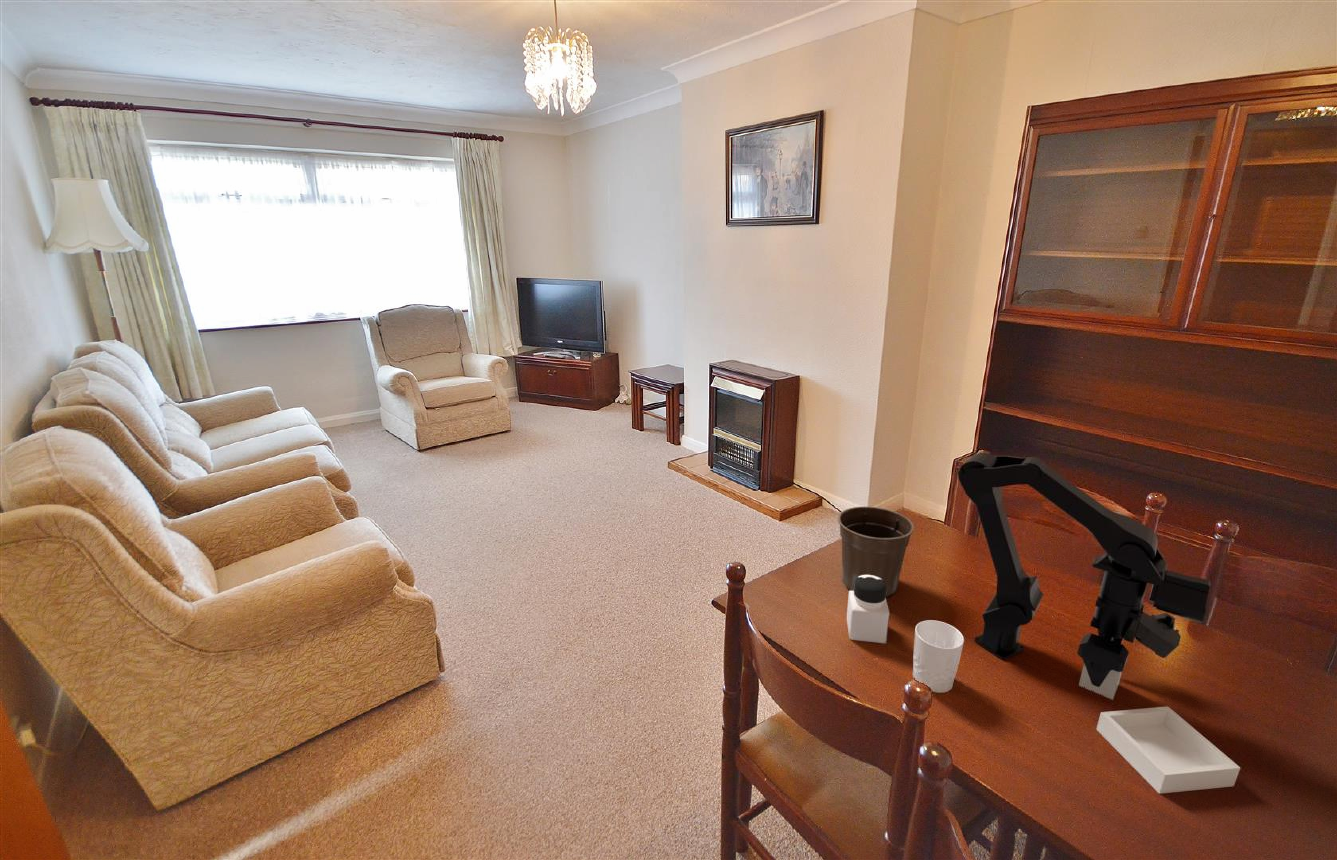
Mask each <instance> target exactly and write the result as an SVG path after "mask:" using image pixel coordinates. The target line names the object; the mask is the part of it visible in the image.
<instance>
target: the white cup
mask: <svg viewBox="0 0 1337 860" xmlns="http://www.w3.org/2000/svg"><path fill="white" fill-rule="evenodd" d="M964 643H965V637H964V636H963V634H962V632H961V631H960V630H959V629H957V628H956V627H955V626H953V625H951V624H948V623H947V622H944V621H940V620H933V619H932V620H931V619H927V620H924V621H923V620H922V621H919V622H918V623H917V624H916V625H915V629H914V641H913V656H912V658H913V659H912V660H913V662H912V663H913V665H912V666H913V669H912V677H913V679H914V678H915V680H917V681H919V682H921V683H924V684H925V685H927V686H928V687H930V688H931V689H932V691H933V692H932V691H931V692H932V693H938V694H941V693H947V692H949V691H950V690H951V689H953V685H954V680H955V677H956V676H957V672H958V668H959V663H960V660H961V656H962V651H963V647H964ZM915 680H914V681H915Z"/></svg>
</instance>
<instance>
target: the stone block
mask: <svg viewBox="0 0 1337 860" xmlns="http://www.w3.org/2000/svg"><path fill="white" fill-rule="evenodd" d="M1082 666H1083V667H1082V671H1081V675H1080V678H1079V683H1078V686H1079V687H1081V688H1084V687H1085V688H1084V689H1086V690H1088V691H1091V690H1092V691H1091V692H1093V691H1094V692H1093V693H1096V694H1098V695H1100V694H1101V695H1100V696H1102V695H1103V696H1102V697H1105V698H1107V699H1109V700H1112V701H1113V700H1114V698H1115V695H1116V693H1117V689H1118V687H1119V684H1120V680H1121V676H1122V673H1123V672H1117V671H1114V670H1111V671H1110V672H1109V674H1108V675H1107V677H1106V678H1105V680H1104V681H1103V683H1102V684H1101V686H1100V687H1097V686H1094V685H1092V683H1091V680H1090V678H1089V675H1088V672H1087V669H1086V666H1085V664H1084V663H1083V665H1082Z"/></svg>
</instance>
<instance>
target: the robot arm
mask: <svg viewBox="0 0 1337 860" xmlns="http://www.w3.org/2000/svg"><path fill="white" fill-rule="evenodd" d="M957 478H958V481H959V483H960V485H961V486H962V488H963V491H964V493H965V495H966V496H967V497H968V498H969V500H970V502H972V503H973V504H974V506H975V507H976V510H977V513H978V516H979V519H980V523H981V527H982V530H983V534H984V537H985V540H986V542H987V543H986V544H987V546H988V547H987V548H988V549H989V553H990V556H991V559H992V562H993V567H994V570H995V574H996V580H997V581H996V592H995V593H996V594H994V596H993V597H992V599H991V601H990V602H989V604H987V607H986V609H985V610H984V612H983V614H982V619H983V622H984V625H983V629H982V630H983V631H982V634H980V635H977V636H975V637H974V638H973V641H974V642H975V643H977V644H978V645H980V646H981V647H983V648H984V649H986V650H987V651H989V652H990V653H992V654H993V655H995V656H996V657H998V659H1001V660H1007V659H1008V658H1010V657H1011V658H1012V657H1013V656H1015V655H1017V654H1020V653H1022V652H1024V651H1025V647H1024V645H1021V644H1020V643H1018V642H1019V638H1020V633H1021V628H1022V626H1025V625H1028V624H1029V623H1031V621H1032V620H1033V618H1034V616H1035V614H1036V612H1037V610H1038V608H1039V606H1040V603H1041V600H1042V598H1043V596H1044V593H1043V591H1042V590H1041V588H1040V586H1039V578H1038V576H1036V575H1033V576H1029V574H1027V573H1026V571H1025V570H1024V569H1023V566H1022V563H1021V559H1020V555H1019V552H1018V550H1017V545H1016V543H1015V540H1014V539H1015V538H1014V536H1013V533H1012V529H1011V526H1010V521H1009V519H1008V516H1007V512H1006V509H1005V505H1004V502H1003V487H1009V486H1015V485H1016V486H1017V485H1028V487H1030V488H1031V489H1033V490H1034V491H1036V492H1037V493H1038V494H1040V495H1041V496H1042V497H1044V498H1045V499H1046V500H1048V501H1049V502H1051V503H1052V504H1053V505H1054V506H1055V507H1056V508H1059V509H1060V510H1061V511H1062V512H1064V513H1065V514H1067V515H1068V516H1069V517H1071V518H1072V519H1073V520H1074V521H1076V522H1077V523H1079V524H1080V525H1081V526H1083V527H1084V528H1086V529H1087V531H1089V533H1090V534H1091V535H1092V536H1093V537H1094V539H1095V540H1096V541H1097V543H1098V544H1099V546H1100V547H1101V548H1102V550H1104V551H1105V553H1104V554H1100V555H1097V556H1095V557H1094V559H1093V562H1092V564H1091V565H1092V567H1093V568H1095V569H1097V570H1101V571H1104V575H1103V578H1102V581H1101V587H1100V590H1099V594H1098V597H1097V599H1096V600H1095V605H1094V606H1095V611H1094V613H1093V617H1092V620H1091V621H1090V625H1089V627H1092V628H1094V629H1097V634H1098V635H1097V634H1095V633H1092V632H1091V633H1087V634H1084V635H1083V637H1082V639H1081V641H1080V643H1079V645H1078V650H1077V655H1078V656H1079V658H1081V659H1082V661H1083V665H1084V664H1085V666H1086V669H1087V672H1088V675H1089V678H1090V680H1091V683H1092V685H1094V686H1097V687H1100V686H1101V684H1102V683H1103V681H1104V680H1105V678H1106V677H1107V675H1108V674H1109V672H1110V671H1111V670H1114V671H1117V672H1122V673H1123V672H1124V669H1125V667H1126V663H1127V661H1128V657H1129V654H1130V651H1129V650H1128V649H1127V648H1126V647H1125V645H1124V644H1122V643H1123V641H1126V642H1129V643H1130V644H1131V643H1132V644H1134V641H1135V640H1136V641H1137V642H1138V643H1140V644H1141V645H1143V646H1144V647H1146V648H1148V649H1149V650H1150V651H1152V652H1154V654H1155V655H1156V656H1158V657H1159V658H1163V659H1166V658H1167V657H1168V656H1169V655H1170V654H1171V653H1173V652H1174V651H1175V650H1176V649H1177V648H1178V647H1179V645H1180V642H1181V638H1182V636H1181V634H1180V630H1179V629H1177V628H1176V629H1175V623H1176V618H1175V617H1174V616H1172V615H1175V616H1177V617H1181V618H1184V619H1188V620H1190V621H1194V622H1197V623H1201V624H1202V623H1203V620H1204V618H1205V616H1206V615H1205V614H1206V612H1207V606H1208V605H1207V601H1208V597H1209V592H1210V588H1211V581H1210V579H1206V578H1202V577H1198V576H1197V577H1195V576H1191V575H1186V574H1182V573H1178V572H1176V571H1173V570H1172V571H1171V570H1169V569H1168V568H1167V567H1168V563H1167V561H1166V559H1165V557H1164V556H1163V555H1162V553H1161V552H1160V550H1159V548H1158V544H1159V543H1158V541H1159V540H1158V535H1157V534H1156V533H1155V531H1154V530H1153V529H1152V528H1150V527H1148V526H1147V525H1145V524H1143V523H1141V522H1139V521H1137V520H1135V519H1133V518H1132V517H1129V516H1127V515H1124V514H1121V513H1119V512H1115V511H1113V510H1112V509H1109V508H1107V507H1106V506H1104V505H1103V504H1101V503H1100V502H1099V501H1097V500H1096V499H1094V497H1092V496H1090V495H1089V494H1088V493H1086V492H1085V491H1083V490H1082V489H1081V488H1079V487H1078V486H1076V485H1075V484H1074V483H1072V482H1071V481H1070V480H1068V479H1067V478H1065V477H1064V476H1062V475H1061V474H1060V473H1058V472H1057V471H1055V470H1054V469H1053V468H1051V466H1049V465H1047V463H1046V462H1045V461H1044V460H1043V459H1041V458H1039V457H1036V456H1031V457H1021V456H1012V455H993V454H991V453H988V452H977V453H975V454H973V455H971V457H970V458H968V459H967V460H966V461H965V462H964V463H963V464H962V465H961V466H960V467H959V469H958V471H957ZM1148 584H1150V585H1152V586H1151V590H1150V593H1149V594H1150V595H1149V598H1148V601H1150V602H1153V603H1152V607H1153V608H1155V609H1156V610H1158V611H1160V612H1161V611H1162V613H1160V614H1156V615H1155V614H1152V613H1151V615H1150V614H1147V612H1144V609H1145V604H1144V602H1143V601H1144V598H1145V595H1146V591H1147V587H1148ZM1170 614H1171V615H1170Z"/></svg>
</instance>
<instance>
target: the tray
mask: <svg viewBox="0 0 1337 860" xmlns="http://www.w3.org/2000/svg"><path fill="white" fill-rule="evenodd" d="M1099 714H1100V715H1099V718H1098V721H1097V726H1096V731H1097V732H1098V733H1099V734H1100V735H1101V736H1102V737H1103V738H1104V739H1105V740H1106V741H1107V742H1108V743H1109V744H1110V745H1111V746H1112V747H1113V749H1115V750H1116V751H1117V752H1118V753H1119V754H1120V755H1121V756H1122V757H1123V758H1124V759H1125V761H1127V762H1128V764H1130V766H1132V768H1133V769H1135V771H1136V772H1137V773H1138V774H1140V776H1141V777H1142V778H1143V779H1144V780H1146V782H1147V783H1148V784H1149V785H1150V786H1151V787H1152V788H1153V789H1154V790H1155V791H1156V792H1157V793H1158V794H1170V793H1180V792H1188V791H1199V790H1209V789H1220V788H1229V787H1230V788H1231V787H1234V786H1235V784H1236V781H1237V779H1238V776H1239V774H1240V773H1239V772H1240V770H1241V767H1240V766H1239V765H1238V764H1237V763H1235V761H1234V760H1232V759H1231V758H1230V757H1228V756H1227V755H1226V754H1225V753H1224V752H1223V751H1221V750H1220V749H1219V748H1218V747H1216V745H1214V744H1213V743H1212V742H1211V741H1210V740H1208V738H1206V737H1204V736H1203V735H1202V734H1201V733H1200V732H1199V731H1198V730H1197V729H1195V728H1194V727H1193V726H1192V725H1191V724H1189V722H1187V721H1186V720H1185V719H1183V717H1181V716H1180V715H1179V714H1178V713H1177V712H1175V711H1174V710H1173V709H1172V708H1171V707H1169V706H1158V707H1146V708H1135V709H1134V708H1133V709H1125V710H1114V711H1113V710H1112V711H1103V712H1102V711H1101V712H1100V713H1099Z"/></svg>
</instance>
